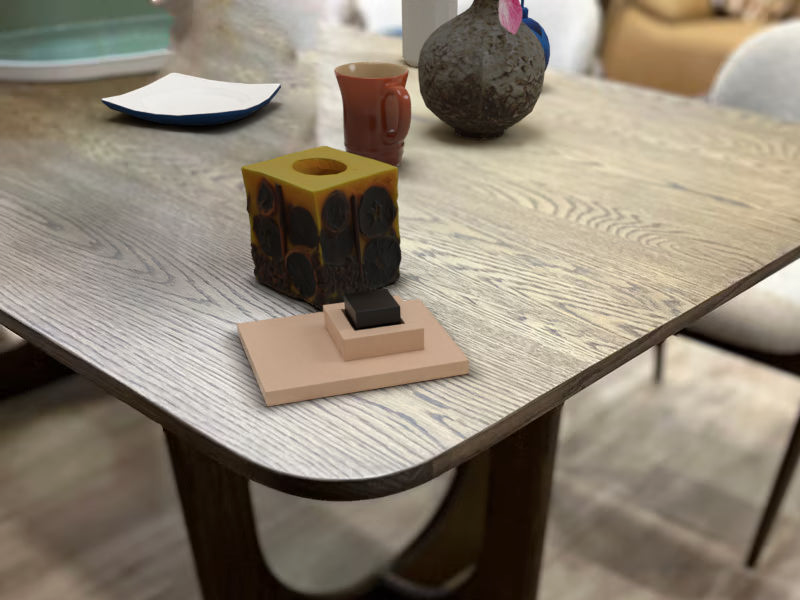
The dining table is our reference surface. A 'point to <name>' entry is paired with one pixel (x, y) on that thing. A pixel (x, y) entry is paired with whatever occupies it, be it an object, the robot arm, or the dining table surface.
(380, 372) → the tan stepped platform
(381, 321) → the key
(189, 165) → the dining table surface
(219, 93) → the plate
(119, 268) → the dining table surface
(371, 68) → the mug
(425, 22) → the jar
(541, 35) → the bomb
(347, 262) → the candle
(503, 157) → the dining table surface
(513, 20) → the vase
